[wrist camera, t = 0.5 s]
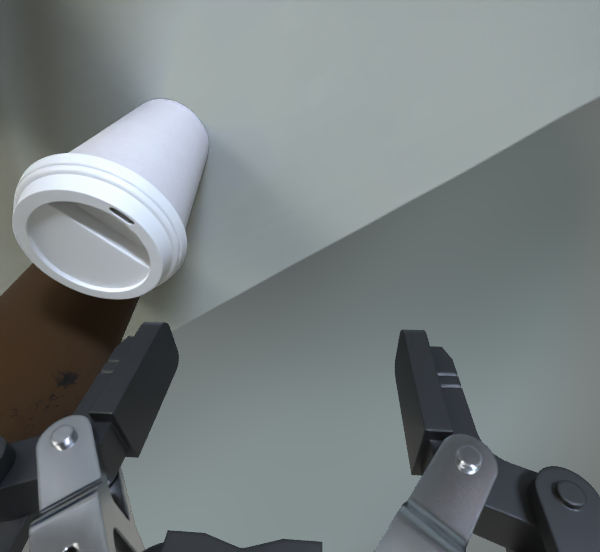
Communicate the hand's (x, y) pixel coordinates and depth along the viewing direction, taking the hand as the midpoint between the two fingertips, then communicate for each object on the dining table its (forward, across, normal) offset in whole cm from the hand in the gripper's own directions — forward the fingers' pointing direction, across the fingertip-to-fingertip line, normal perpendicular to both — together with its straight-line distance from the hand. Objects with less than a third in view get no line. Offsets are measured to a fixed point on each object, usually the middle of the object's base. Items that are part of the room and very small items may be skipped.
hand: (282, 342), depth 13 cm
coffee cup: (+22, +12, -1) cm, 26 cm away
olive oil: (+24, +23, +11) cm, 35 cm away
